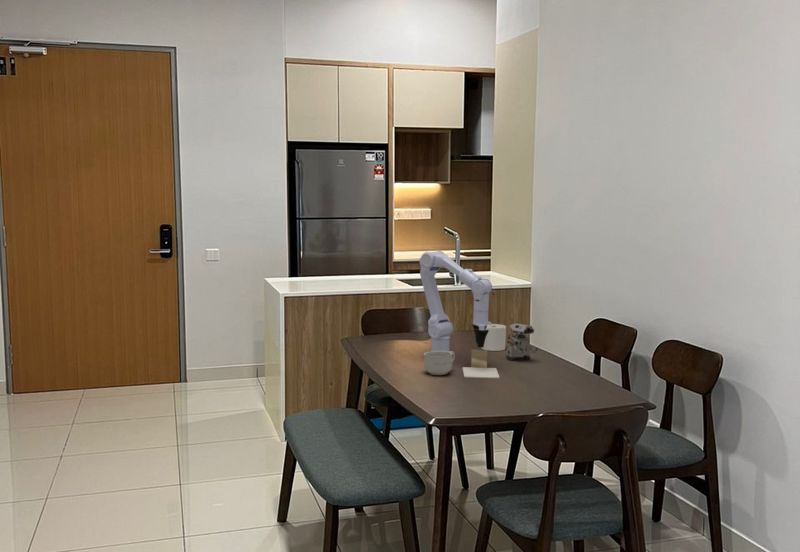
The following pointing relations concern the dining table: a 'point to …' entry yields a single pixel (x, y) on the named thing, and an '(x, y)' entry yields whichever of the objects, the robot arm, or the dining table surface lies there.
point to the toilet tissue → (495, 337)
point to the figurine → (519, 341)
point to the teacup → (438, 362)
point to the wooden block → (479, 359)
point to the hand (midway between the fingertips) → (479, 345)
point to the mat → (480, 372)
